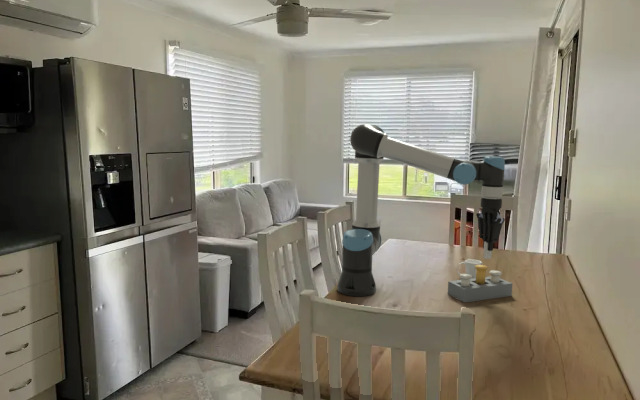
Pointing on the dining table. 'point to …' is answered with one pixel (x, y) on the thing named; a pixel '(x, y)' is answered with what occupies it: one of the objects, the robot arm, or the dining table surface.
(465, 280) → the near plug
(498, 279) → the far plug
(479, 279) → the ochre plug
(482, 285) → the board
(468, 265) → the cup
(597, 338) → the dining table surface
